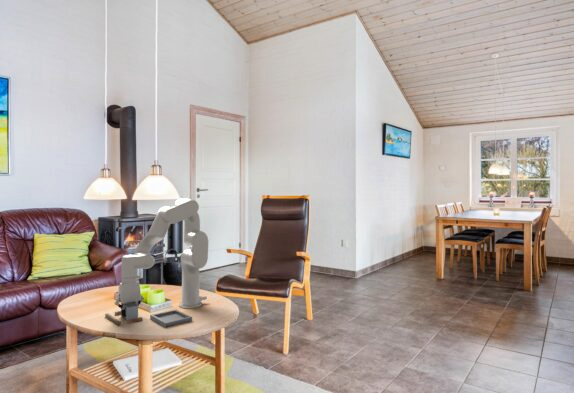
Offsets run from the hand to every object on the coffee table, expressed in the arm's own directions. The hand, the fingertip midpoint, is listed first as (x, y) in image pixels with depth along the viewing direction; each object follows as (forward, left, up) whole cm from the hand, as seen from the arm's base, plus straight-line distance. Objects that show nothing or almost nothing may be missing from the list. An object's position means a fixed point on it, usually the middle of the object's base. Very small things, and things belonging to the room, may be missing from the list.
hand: (129, 315), depth 204 cm
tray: (-14, +17, -1) cm, 22 cm away
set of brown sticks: (+3, 0, -1) cm, 3 cm away
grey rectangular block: (0, 0, -1) cm, 1 cm away
